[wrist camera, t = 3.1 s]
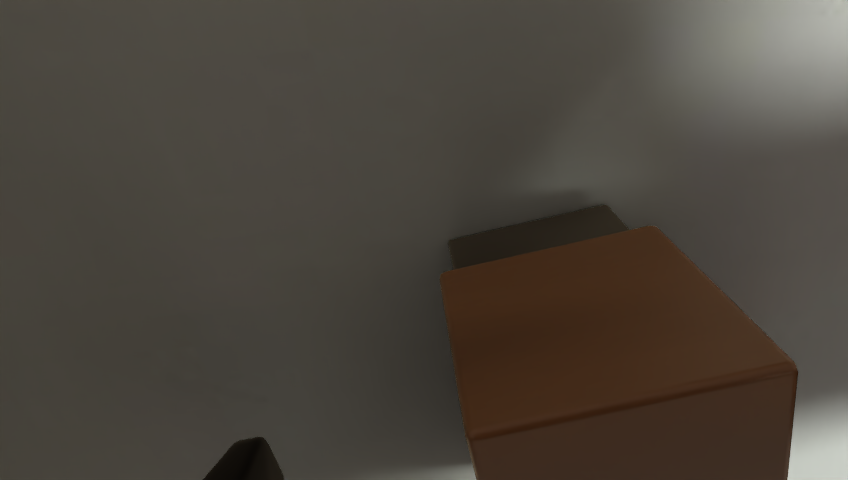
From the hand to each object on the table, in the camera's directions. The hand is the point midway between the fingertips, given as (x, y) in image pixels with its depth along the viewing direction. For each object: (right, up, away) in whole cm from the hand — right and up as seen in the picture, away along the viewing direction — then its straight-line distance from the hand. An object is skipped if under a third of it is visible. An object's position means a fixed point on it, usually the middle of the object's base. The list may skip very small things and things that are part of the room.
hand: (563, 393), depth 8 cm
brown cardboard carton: (0, +1, +1) cm, 1 cm away
